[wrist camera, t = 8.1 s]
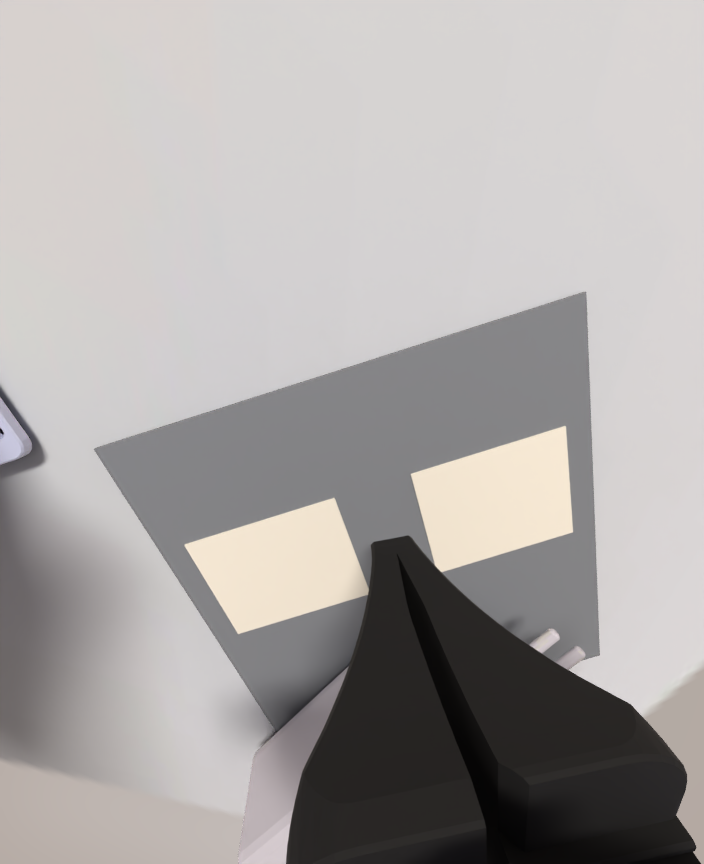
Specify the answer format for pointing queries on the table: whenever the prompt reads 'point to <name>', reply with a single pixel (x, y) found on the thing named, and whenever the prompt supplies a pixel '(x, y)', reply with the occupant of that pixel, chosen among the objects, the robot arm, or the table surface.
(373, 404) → the label mat
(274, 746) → the charger
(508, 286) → the table surface
